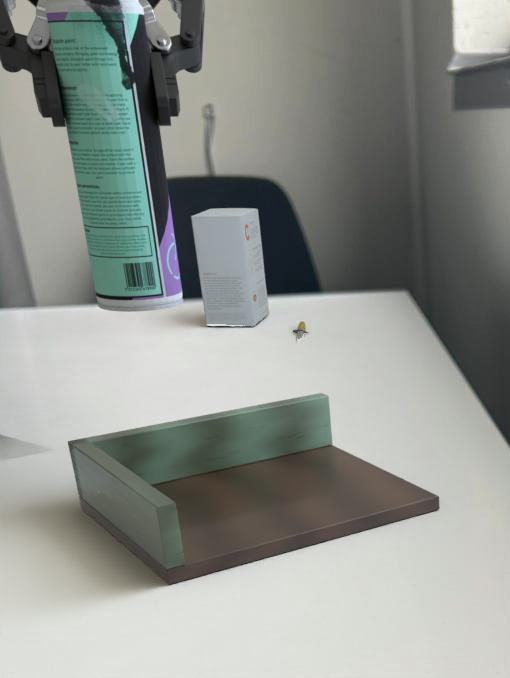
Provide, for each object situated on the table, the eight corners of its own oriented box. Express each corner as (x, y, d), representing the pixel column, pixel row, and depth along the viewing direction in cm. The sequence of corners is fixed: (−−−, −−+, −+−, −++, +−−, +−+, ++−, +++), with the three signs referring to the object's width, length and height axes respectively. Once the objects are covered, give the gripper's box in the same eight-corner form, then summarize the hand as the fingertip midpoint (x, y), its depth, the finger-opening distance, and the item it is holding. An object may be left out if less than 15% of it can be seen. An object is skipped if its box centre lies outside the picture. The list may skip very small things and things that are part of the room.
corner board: (169, 584, 62) (156, 507, 59) (81, 509, 73) (67, 441, 70) (439, 509, 72) (437, 440, 70) (326, 453, 83) (321, 392, 81)
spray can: (200, 301, 69) (154, -58, 59) (135, 315, 65) (74, -67, 55) (146, 293, 71) (93, -52, 62) (80, 305, 67) (12, -61, 58)
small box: (222, 314, 134) (209, 207, 128) (270, 314, 134) (259, 207, 128) (204, 327, 127) (189, 215, 121) (254, 327, 127) (242, 215, 121)
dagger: (308, 345, 118) (290, 342, 118) (307, 353, 119) (289, 350, 118) (310, 321, 127) (294, 318, 127) (309, 329, 127) (293, 325, 127)
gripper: (-61, -167, 60) (-35, 64, 56) (191, -153, 64) (233, 65, 59) (-29, -49, 67) (-4, 165, 63) (196, -42, 71) (234, 159, 66)
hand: (111, 115), depth 61 cm, fingers closed on spray can, 5 cm apart
